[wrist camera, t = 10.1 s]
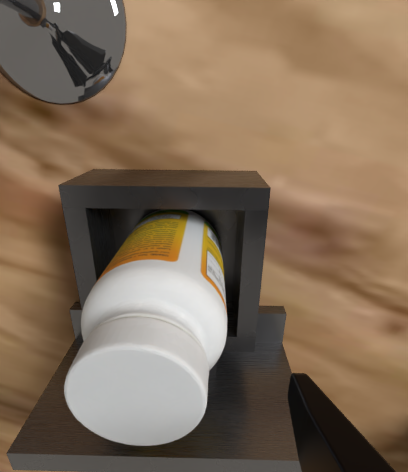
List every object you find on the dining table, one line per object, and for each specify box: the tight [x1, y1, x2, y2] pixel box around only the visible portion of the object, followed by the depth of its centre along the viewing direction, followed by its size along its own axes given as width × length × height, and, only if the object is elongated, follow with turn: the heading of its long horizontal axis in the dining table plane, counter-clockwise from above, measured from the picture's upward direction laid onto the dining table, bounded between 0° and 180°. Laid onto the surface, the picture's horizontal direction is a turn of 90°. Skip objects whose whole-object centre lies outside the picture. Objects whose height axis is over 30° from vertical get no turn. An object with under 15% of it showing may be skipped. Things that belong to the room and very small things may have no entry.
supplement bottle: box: [64, 209, 227, 446], centre depth 12 cm, size 5×5×10 cm
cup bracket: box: [7, 169, 302, 472], centre depth 15 cm, size 12×14×8 cm
